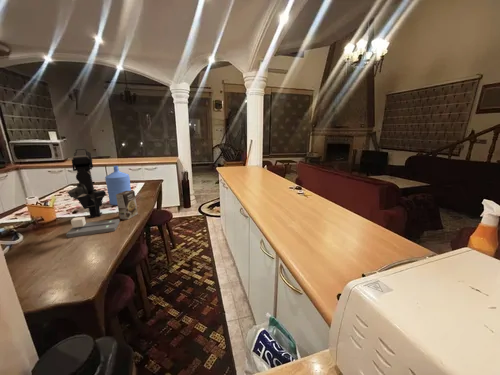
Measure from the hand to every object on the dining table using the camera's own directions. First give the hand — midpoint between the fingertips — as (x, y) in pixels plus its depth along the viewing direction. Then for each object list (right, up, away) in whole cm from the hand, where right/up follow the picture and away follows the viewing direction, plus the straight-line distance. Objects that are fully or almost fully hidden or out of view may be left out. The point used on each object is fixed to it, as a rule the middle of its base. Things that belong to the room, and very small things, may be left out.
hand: (91, 209), depth 117 cm
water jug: (-13, 0, +51) cm, 52 cm away
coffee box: (+7, -7, +24) cm, 26 cm away
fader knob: (-9, -10, +3) cm, 14 cm away
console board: (-2, -12, +6) cm, 14 cm away
